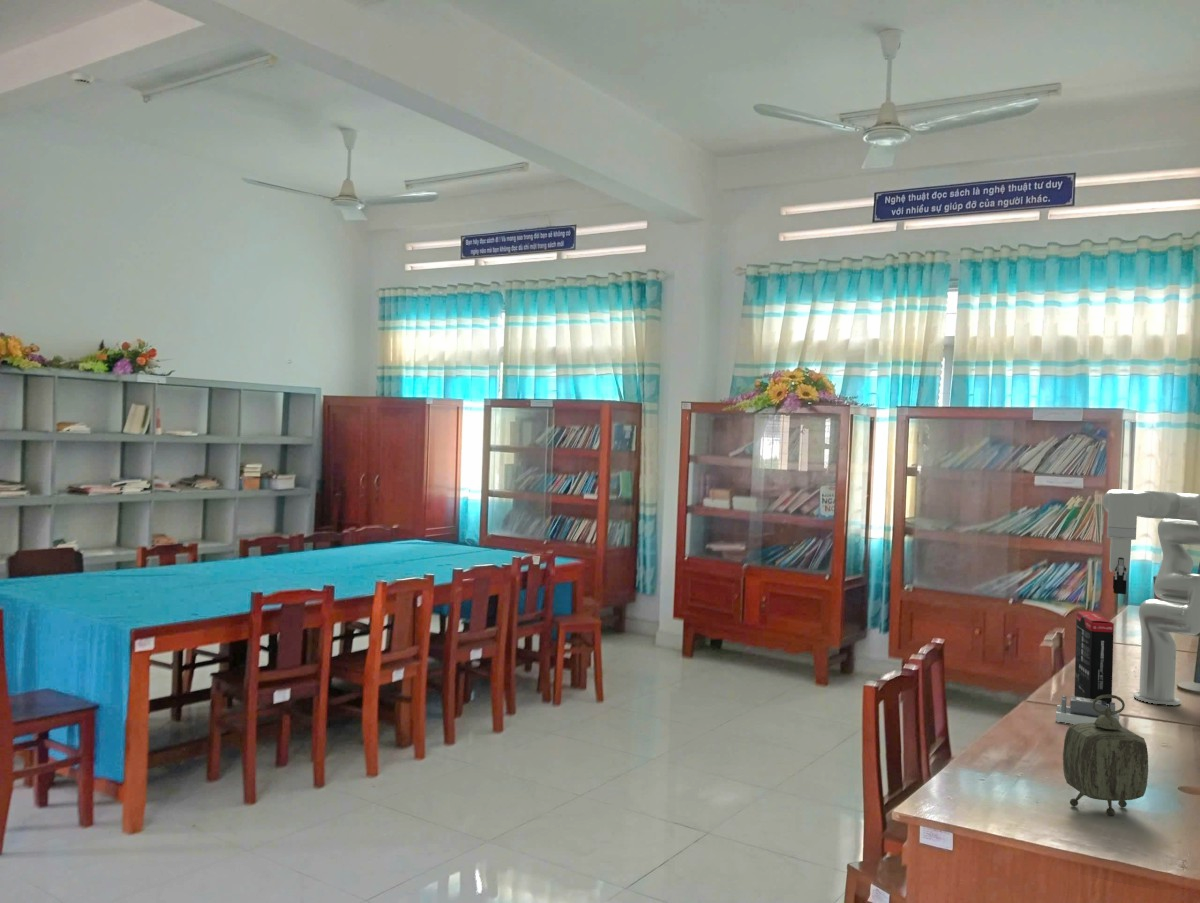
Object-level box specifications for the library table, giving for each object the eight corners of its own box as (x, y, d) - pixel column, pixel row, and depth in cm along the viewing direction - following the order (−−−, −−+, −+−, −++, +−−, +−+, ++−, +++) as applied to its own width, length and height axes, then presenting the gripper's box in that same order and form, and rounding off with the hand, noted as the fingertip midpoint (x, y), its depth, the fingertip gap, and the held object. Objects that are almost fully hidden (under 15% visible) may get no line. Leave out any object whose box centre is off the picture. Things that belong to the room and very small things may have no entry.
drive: (1071, 713, 279) (1071, 695, 279) (1106, 718, 275) (1106, 700, 275) (1069, 717, 275) (1070, 699, 274) (1105, 723, 270) (1106, 704, 270)
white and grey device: (1057, 712, 283) (1057, 692, 283) (1118, 721, 276) (1119, 700, 276) (1055, 721, 273) (1056, 700, 273) (1119, 731, 266) (1120, 709, 266)
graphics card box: (1113, 713, 285) (1116, 621, 284) (1087, 711, 286) (1091, 620, 286) (1095, 698, 301) (1099, 612, 301) (1071, 696, 303) (1075, 610, 303)
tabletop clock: (1126, 804, 210) (1130, 690, 210) (1151, 821, 201) (1156, 701, 201) (1060, 803, 210) (1065, 688, 209) (1083, 819, 201) (1087, 700, 200)
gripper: (1106, 530, 293) (1104, 586, 293) (1107, 534, 277) (1105, 594, 278) (1135, 532, 289) (1132, 589, 289) (1137, 536, 274) (1134, 596, 274)
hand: (1119, 591), depth 283 cm, fingers open, 9 cm apart
